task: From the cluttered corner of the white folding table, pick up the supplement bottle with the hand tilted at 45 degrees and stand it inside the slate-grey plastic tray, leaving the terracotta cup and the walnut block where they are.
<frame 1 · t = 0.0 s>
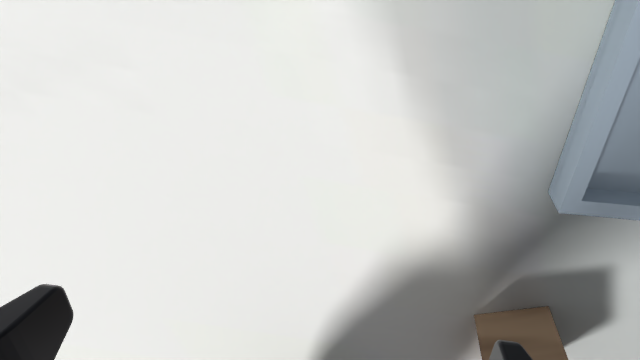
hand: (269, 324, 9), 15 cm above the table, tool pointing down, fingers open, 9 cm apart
walnut block: (514, 332, 29), on the table
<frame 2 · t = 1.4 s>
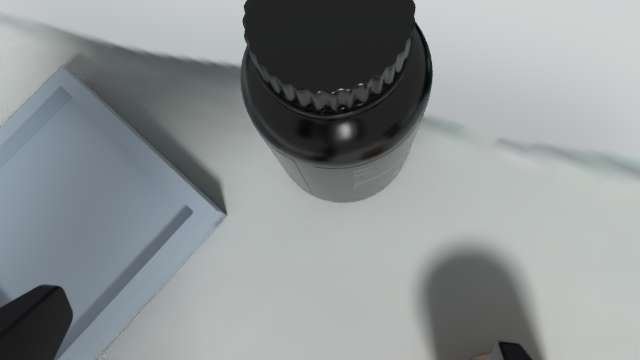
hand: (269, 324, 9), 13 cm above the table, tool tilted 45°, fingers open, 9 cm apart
tray: (73, 226, 24), on the table
supplement bottle: (343, 142, 24), on the table
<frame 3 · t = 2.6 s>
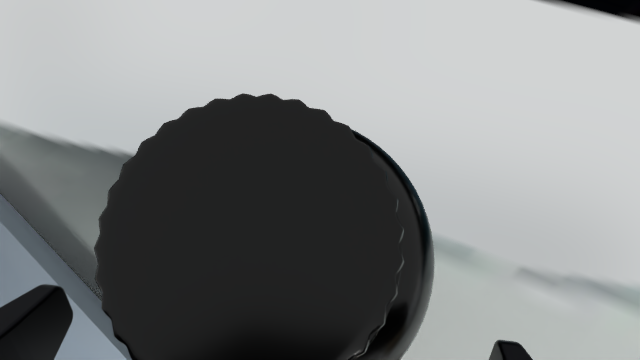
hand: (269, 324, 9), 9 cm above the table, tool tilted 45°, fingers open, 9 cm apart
supplement bottle: (317, 268, 19), on the table
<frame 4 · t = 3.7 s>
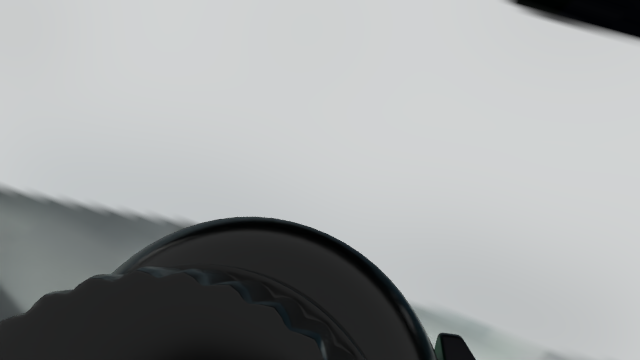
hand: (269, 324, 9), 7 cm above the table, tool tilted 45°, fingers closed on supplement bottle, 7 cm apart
supplement bottle: (303, 347, 16), on the table, touching gripper
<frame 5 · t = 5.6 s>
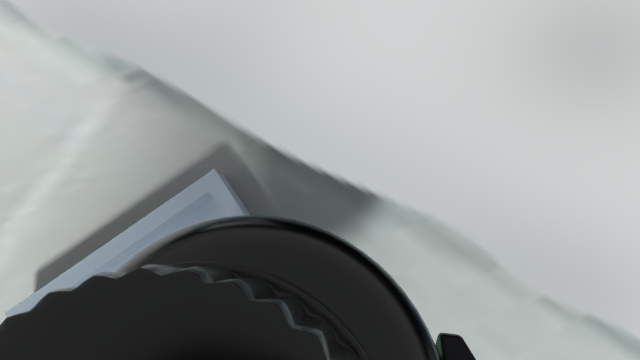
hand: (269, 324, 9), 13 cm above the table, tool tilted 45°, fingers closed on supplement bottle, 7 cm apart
tray: (188, 342, 22), on the table
supplement bottle: (306, 346, 16), point 6 cm above the table, touching gripper
when the fingers open (8 cm above the table, at t = 7.5 s): supplement bottle stays where it is, resting on tray.
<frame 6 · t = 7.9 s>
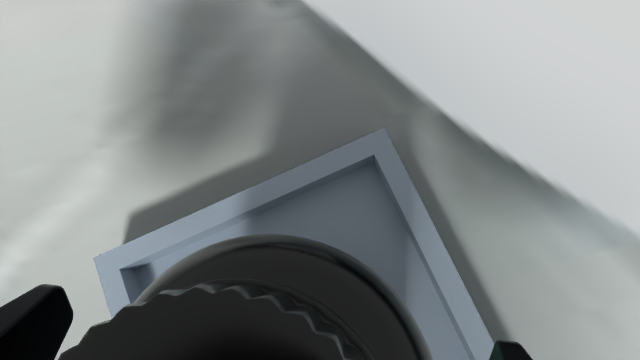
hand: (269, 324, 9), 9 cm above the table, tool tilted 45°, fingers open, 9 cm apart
tray: (307, 340, 17), on the table
supplement bottle: (310, 347, 17), resting on tray
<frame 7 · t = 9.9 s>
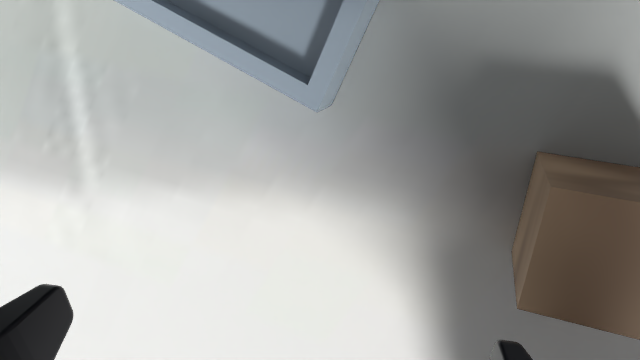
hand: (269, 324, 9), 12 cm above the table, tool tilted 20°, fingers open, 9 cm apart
walnut block: (583, 214, 18), on the table
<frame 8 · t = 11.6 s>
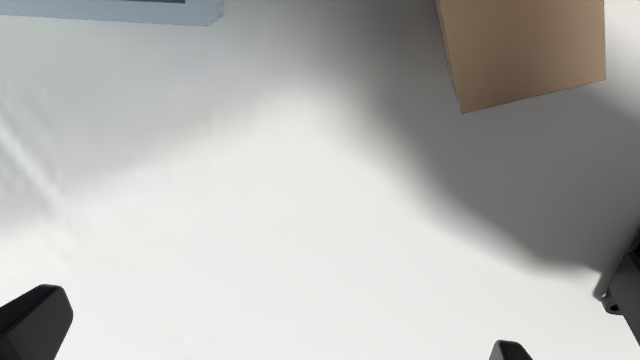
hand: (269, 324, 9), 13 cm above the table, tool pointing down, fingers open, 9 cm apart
walnut block: (496, 2, 17), on the table
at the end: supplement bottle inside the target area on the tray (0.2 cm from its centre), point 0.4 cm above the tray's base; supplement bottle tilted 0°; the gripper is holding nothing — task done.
